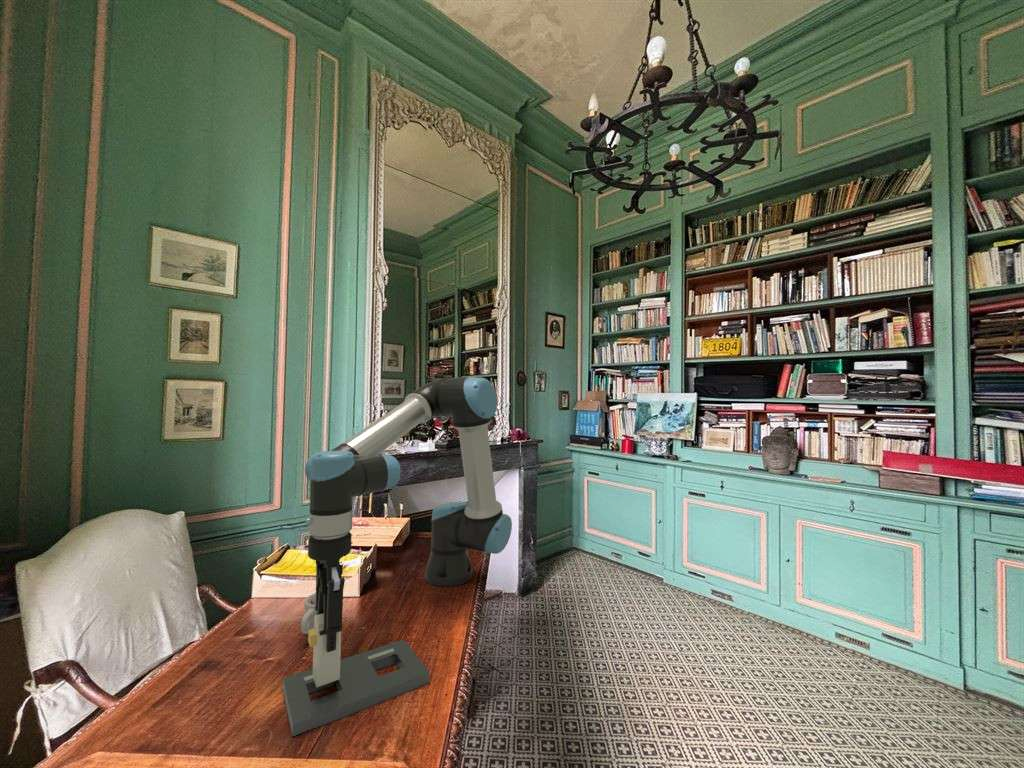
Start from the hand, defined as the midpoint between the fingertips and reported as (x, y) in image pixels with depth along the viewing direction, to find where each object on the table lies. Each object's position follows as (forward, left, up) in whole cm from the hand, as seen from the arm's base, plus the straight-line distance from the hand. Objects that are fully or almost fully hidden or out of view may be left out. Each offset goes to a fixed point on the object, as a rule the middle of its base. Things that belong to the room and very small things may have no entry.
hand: (326, 659), depth 77 cm
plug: (0, 0, -3) cm, 3 cm away
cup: (-3, -23, -7) cm, 25 cm away
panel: (-6, 0, -7) cm, 9 cm away
